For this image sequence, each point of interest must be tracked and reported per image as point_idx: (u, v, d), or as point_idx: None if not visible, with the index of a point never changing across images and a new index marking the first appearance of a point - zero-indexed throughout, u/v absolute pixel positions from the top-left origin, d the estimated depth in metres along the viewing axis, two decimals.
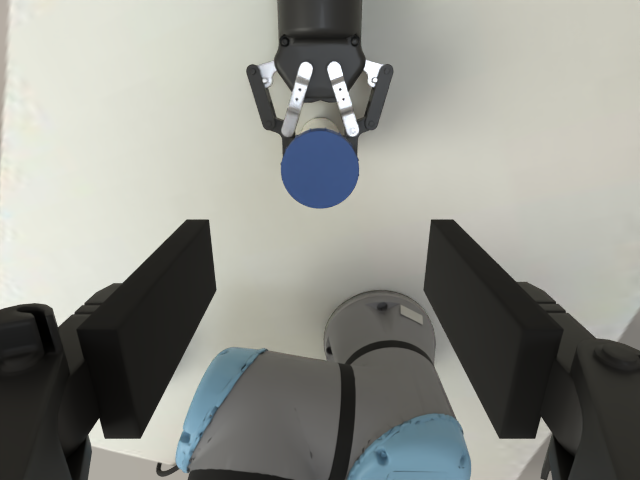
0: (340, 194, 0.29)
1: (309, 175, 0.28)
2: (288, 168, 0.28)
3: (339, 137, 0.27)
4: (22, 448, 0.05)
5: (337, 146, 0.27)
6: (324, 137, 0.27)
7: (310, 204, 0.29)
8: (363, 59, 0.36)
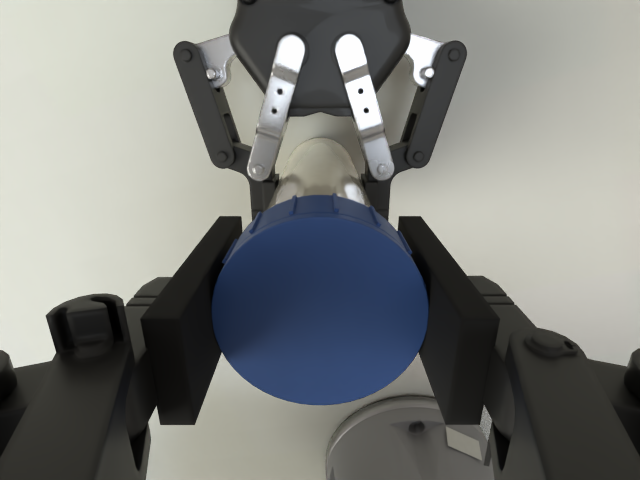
0: (375, 374, 0.11)
1: (290, 331, 0.10)
2: (231, 314, 0.10)
3: (377, 235, 0.09)
4: (96, 433, 0.05)
5: (372, 258, 0.09)
6: (333, 235, 0.09)
7: (294, 396, 0.11)
8: (407, 31, 0.18)
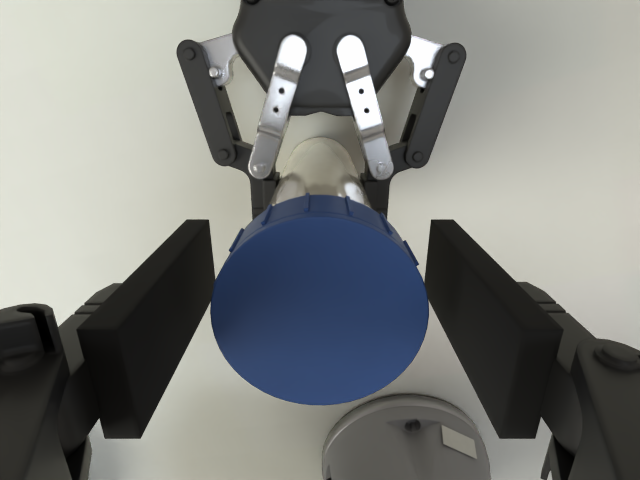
0: (397, 276, 0.10)
1: (327, 346, 0.10)
2: (301, 389, 0.11)
3: (230, 261, 0.09)
4: (21, 448, 0.05)
5: (255, 268, 0.09)
6: (228, 299, 0.10)
7: (408, 353, 0.10)
8: (407, 32, 0.18)
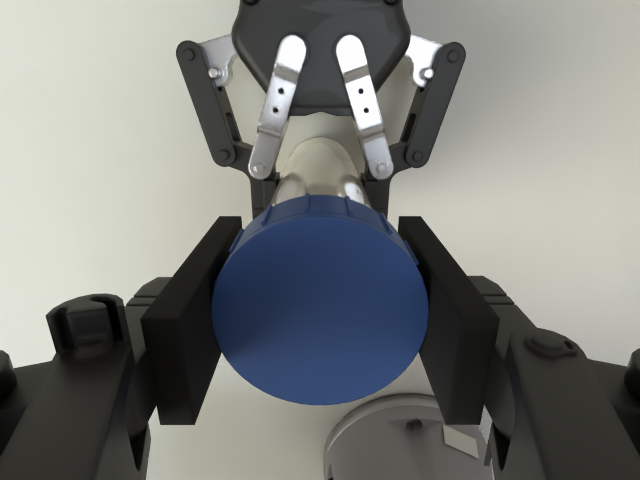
0: (397, 276, 0.10)
1: (328, 346, 0.10)
2: (302, 389, 0.11)
3: (230, 262, 0.09)
4: (96, 433, 0.05)
5: (255, 269, 0.09)
6: (228, 299, 0.10)
7: (409, 353, 0.10)
8: (407, 32, 0.18)
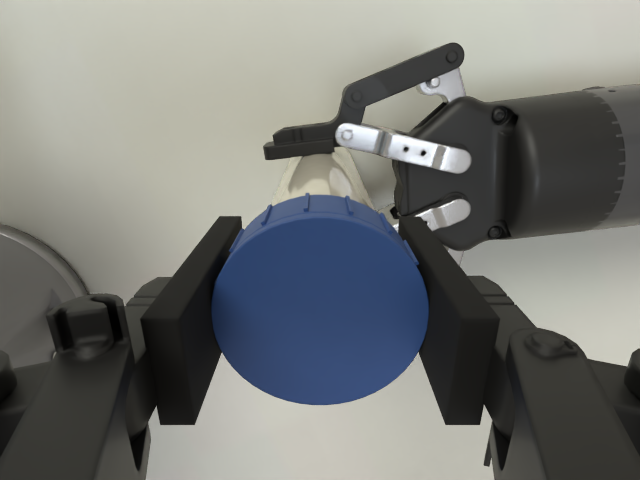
0: (397, 276, 0.10)
1: (328, 346, 0.10)
2: (302, 389, 0.11)
3: (230, 262, 0.09)
4: (96, 433, 0.05)
5: (255, 269, 0.09)
6: (228, 299, 0.10)
7: (409, 353, 0.10)
8: (467, 248, 0.22)
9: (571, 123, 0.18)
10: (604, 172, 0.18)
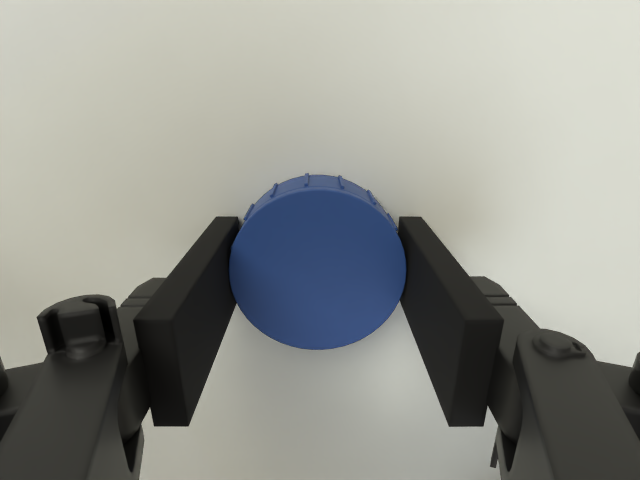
0: (380, 238, 0.12)
1: (324, 298, 0.13)
2: (303, 335, 0.13)
3: (245, 226, 0.12)
4: (88, 434, 0.05)
5: (265, 232, 0.12)
6: (243, 258, 0.12)
7: (390, 304, 0.13)
8: None
9: None
10: None
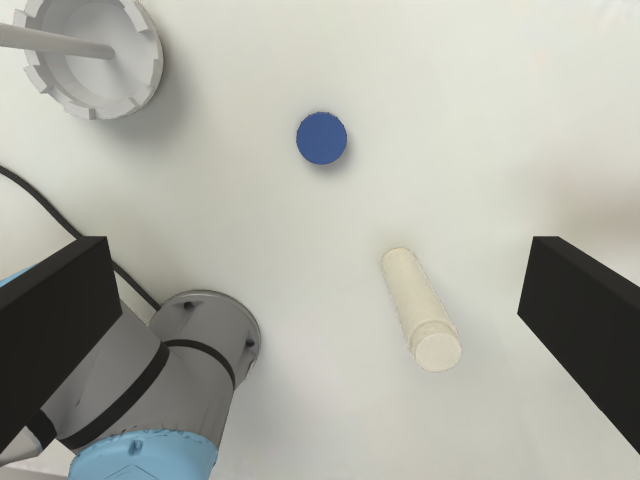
0: (338, 127, 0.43)
1: (323, 146, 0.44)
2: (317, 159, 0.44)
3: (301, 124, 0.43)
4: None
5: (307, 125, 0.43)
6: (300, 133, 0.43)
7: (342, 148, 0.44)
8: None
9: None
10: None
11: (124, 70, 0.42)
